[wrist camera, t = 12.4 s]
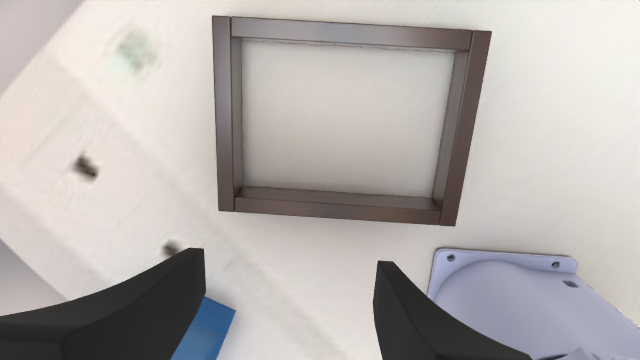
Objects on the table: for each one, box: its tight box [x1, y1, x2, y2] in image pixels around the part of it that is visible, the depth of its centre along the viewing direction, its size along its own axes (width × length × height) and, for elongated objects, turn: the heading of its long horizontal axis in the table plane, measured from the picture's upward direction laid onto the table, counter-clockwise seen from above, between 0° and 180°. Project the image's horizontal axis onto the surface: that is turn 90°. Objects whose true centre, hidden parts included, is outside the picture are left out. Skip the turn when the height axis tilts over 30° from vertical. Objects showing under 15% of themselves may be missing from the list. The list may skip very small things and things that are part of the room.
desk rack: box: [212, 15, 492, 226], centre depth 21 cm, size 14×11×2 cm
